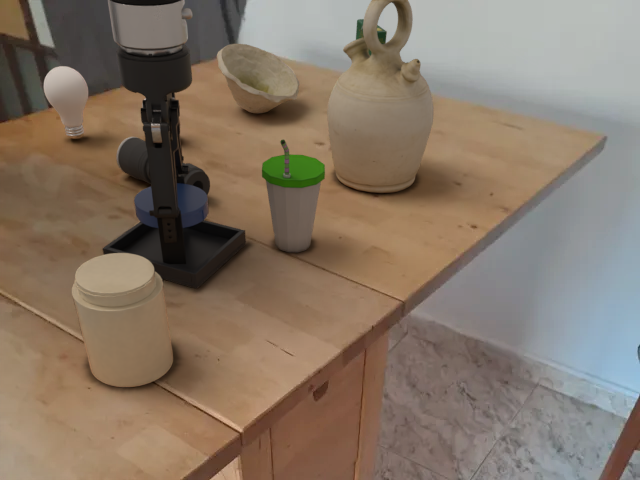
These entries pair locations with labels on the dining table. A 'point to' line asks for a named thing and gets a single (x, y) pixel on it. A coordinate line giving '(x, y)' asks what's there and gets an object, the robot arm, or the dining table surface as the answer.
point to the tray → (200, 247)
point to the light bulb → (67, 98)
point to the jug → (380, 109)
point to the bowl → (257, 77)
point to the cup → (293, 197)
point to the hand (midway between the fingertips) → (176, 243)
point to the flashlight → (136, 164)
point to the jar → (123, 319)
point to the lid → (189, 202)
